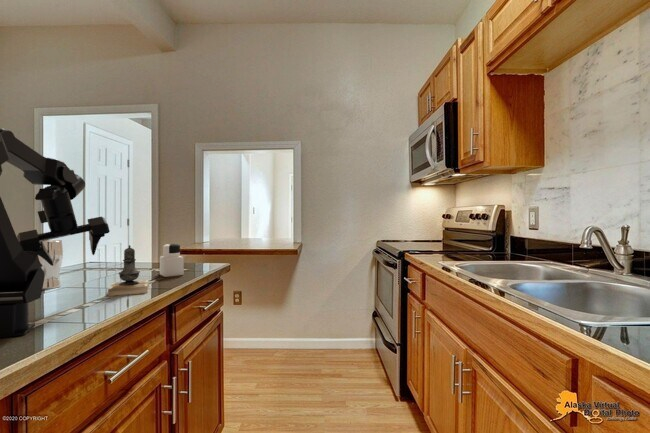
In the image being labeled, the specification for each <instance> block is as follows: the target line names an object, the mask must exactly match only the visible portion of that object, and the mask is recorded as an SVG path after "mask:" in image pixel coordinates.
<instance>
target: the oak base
mask: <svg viewBox="0 0 650 433" xmlns="http://www.w3.org/2000/svg"><path fill="white" fill-rule="evenodd" d="M136 281H137V282H139V284H136V285H129V286H121V285H119V284H120V283H122V282H123V281H118V282H117V281H116V282H112V283H111V284H110V286H109V287H108V289H107V296H108V297H112V296H114V297H115V296H124V295H136V294H138V295H139V294H147V293H148V291H149V287H150V282H149V281H150V279H149V280H146V279H144V280H136Z"/></svg>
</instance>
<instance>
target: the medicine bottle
mask: <svg viewBox="0 0 650 433" xmlns="http://www.w3.org/2000/svg"><path fill="white" fill-rule="evenodd" d="M184 262H185V261H184V256H181V245H179V243H177V244H176V243H167V244H164V245H163V246H162V255H161V256H159V275H160V276H162V277H164V278H166V277H178V276H183V275H184Z"/></svg>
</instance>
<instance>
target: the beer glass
mask: <svg viewBox="0 0 650 433" xmlns="http://www.w3.org/2000/svg"><path fill="white" fill-rule="evenodd" d="M43 243H44V246H45V248H46V249H47V251H48V253H49V255H50V257H51V259H52V262H53V266H51V265H50V264H49V263H48V262H47V261H46V260H45V259H43V258H42V257H40V256H39V255H38V258H39V261H40V263H41V264H42V267H41V268H42V270H43V271H44V274H45V278H44V283H43V288H42V290H50V289H56V288H60V287H61V286H62V284H61V279H60V272H61V267H62V263H63V252H64V251H63V241H62V240H61V239H51V240H46V241H43Z"/></svg>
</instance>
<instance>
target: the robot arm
mask: <svg viewBox="0 0 650 433" xmlns="http://www.w3.org/2000/svg"><path fill="white" fill-rule="evenodd" d="M6 162H7V163H8V164H10V165H12V166H13V167H15V168H17V169H19V170H21V171H23V178H25V179H26V180H27V181H28V182H30V184H31V185H34V186H35V185H38V186H39V185H41V186H44V188H39V189H38V192H37V193H36V194H35V197H34V200H36V201H41V205H42V208H43V210H37V215H38V217H39V220H40V222H39V223H41V224H45V223H47V225H48V228H49V230H50V231H47V232H43V233H39V232H38V230H37V229H32V230H27V231H21V232H18V234H17V233H16V231H15V229H14V227H13V224H12V222H11V219H10V217H9V214H8V212H7V210H6V208H5V207H6V206H5V204H4V202H3V200H2V197H1V196H0V338H7V337H8V338H9V337H15V336H16V337H17V336H24V335H26V334H27V333H28V332H29V331H31V330H32V329H33V328H34V327H35V326H36V323H35V322H34V323H33V322H31V323H29V322H30V321H29V317H30V316H29V315H30V314H29V313H30V311H29V309H30V308H29V304H30V303H31V302H34V301H36V300H39V299H40V298H42V292H43V289H42V288H43V283H44V278H45V274H44V271H43V270H42V268H41V267H42V264H41V263H40V261H39V258H38V255H39V256H40V257H42V258H43V259H45V260H46V261H47V262H48V263H49V264H50V265H51V266H53V262H52V259H51V257H50V255H49V253H48V251H47V249H46V248H45V246H44V243H43V241H46V240H56V239H59V238H64V237H69V236H72V235H74V236H75V235H77V234H81V233H86V232H88V234H89V245H90V251H91V255H92V256H95V254H96V250H97V247H98V245H99V242H100V240H101V238H103V237H105V236H106V234H109V233H110V226H109V224H108V222H107V220H106V219H105V218H106V217H104V216H98V217H91V218H87V223H86V224H81V225H78V222H77V219H76V214H75V212H74V207H73V204H72V200H74V199H75V198H76V197H77V196H79V194H80V193H81V192H82V191H83V190H84V189H85V188H86V182H85V180H84V179H83V178H82V177H81V176H80V175H79V174H76V173H75V170H74V169H71V168H69V166H68V165H67V164H66V163H65V161H62V160H60V159H57V158H52V157H47V156H44V155H42V154H41V153H39V152H38V151H36V150H34V149H33V148H32V147H31V146H29V145H28V144H26V143H24V142H23V141H22V140H20V139H19V138H17V137H16V136H15V134H14V132H12V130H8V129H5V128H0V176H1V175H2V173H3V168H2V165H3V164H4V163H6Z"/></svg>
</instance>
